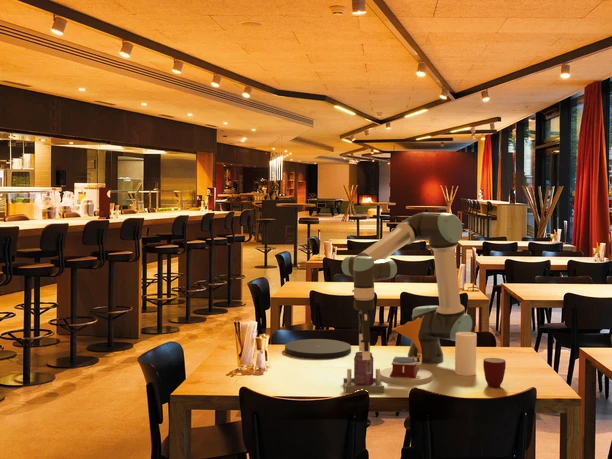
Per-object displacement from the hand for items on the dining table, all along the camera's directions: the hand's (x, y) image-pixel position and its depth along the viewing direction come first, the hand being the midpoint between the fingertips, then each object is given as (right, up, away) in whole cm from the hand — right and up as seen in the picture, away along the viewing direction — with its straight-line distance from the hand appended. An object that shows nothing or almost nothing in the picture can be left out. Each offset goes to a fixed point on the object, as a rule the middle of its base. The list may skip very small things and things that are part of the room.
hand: (364, 355), depth 283 cm
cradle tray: (0, -12, 0) cm, 12 cm away
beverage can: (0, -11, 0) cm, 11 cm away
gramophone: (+17, -12, +16) cm, 27 cm away
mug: (+49, -12, +5) cm, 50 cm away
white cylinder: (+42, -11, +24) cm, 50 cm away
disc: (-16, -9, +63) cm, 65 cm away
